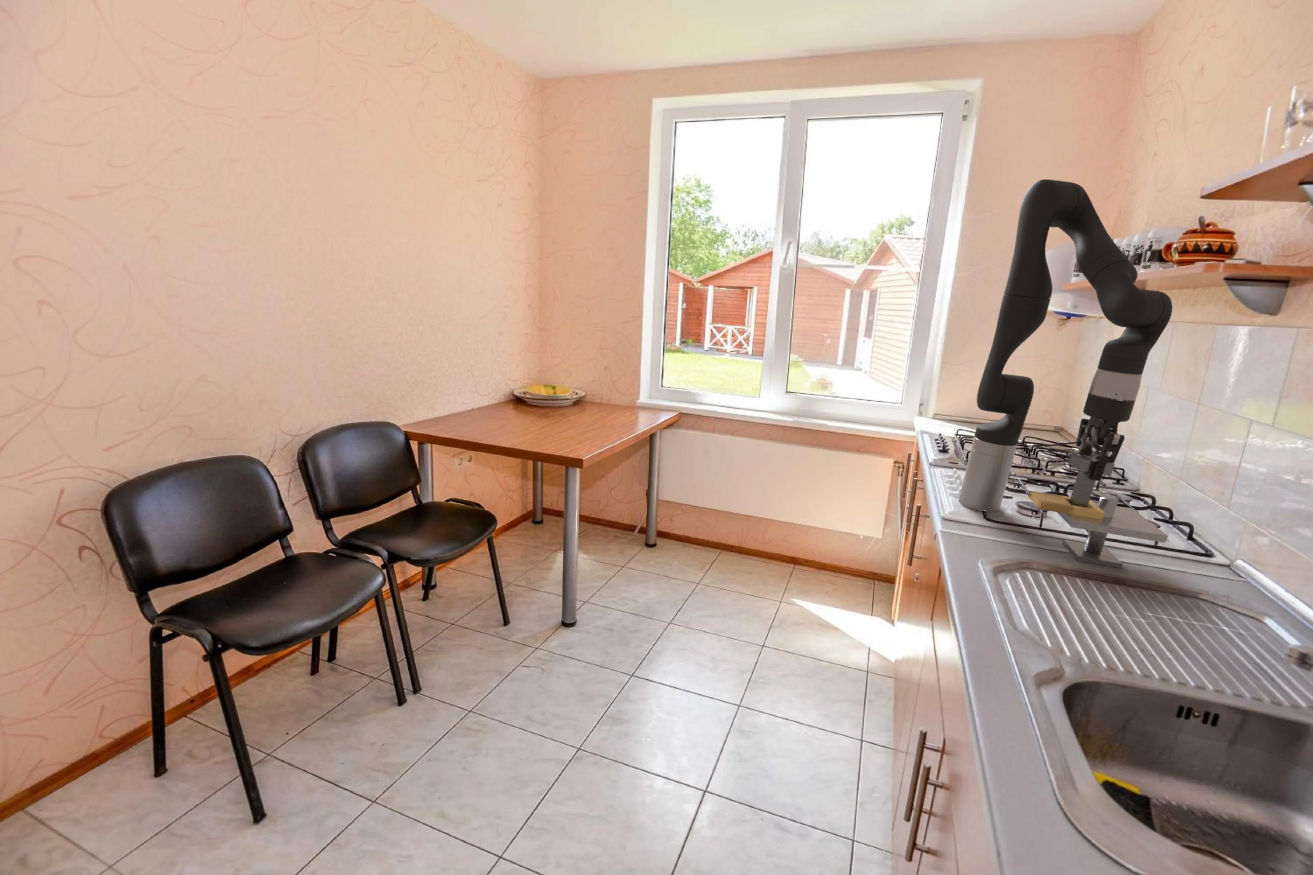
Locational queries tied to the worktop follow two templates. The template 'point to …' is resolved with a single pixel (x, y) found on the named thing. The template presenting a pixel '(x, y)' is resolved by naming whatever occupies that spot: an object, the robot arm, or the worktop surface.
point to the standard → (1108, 531)
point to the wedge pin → (1084, 478)
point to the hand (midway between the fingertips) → (1087, 474)
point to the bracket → (1064, 505)
